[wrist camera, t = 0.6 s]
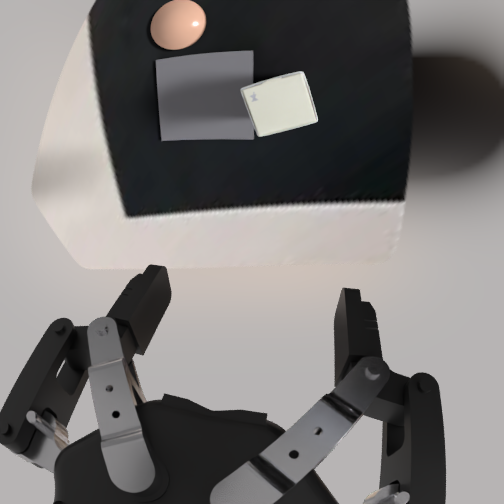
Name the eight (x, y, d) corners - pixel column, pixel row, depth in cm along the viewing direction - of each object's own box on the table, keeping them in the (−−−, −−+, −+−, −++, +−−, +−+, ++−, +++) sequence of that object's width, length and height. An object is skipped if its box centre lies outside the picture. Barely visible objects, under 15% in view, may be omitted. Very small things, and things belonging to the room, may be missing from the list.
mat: (158, 60, 30) (155, 60, 30) (253, 51, 28) (252, 50, 28) (163, 139, 36) (161, 140, 36) (253, 138, 34) (253, 139, 34)
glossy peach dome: (153, 6, 26) (150, 5, 25) (206, -4, 25) (204, -5, 24) (154, 53, 30) (151, 53, 29) (206, 46, 29) (204, 45, 28)
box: (272, 118, 33) (254, 140, 22) (260, 84, 31) (235, 89, 20) (315, 107, 31) (320, 123, 20) (304, 72, 29) (303, 69, 18)
